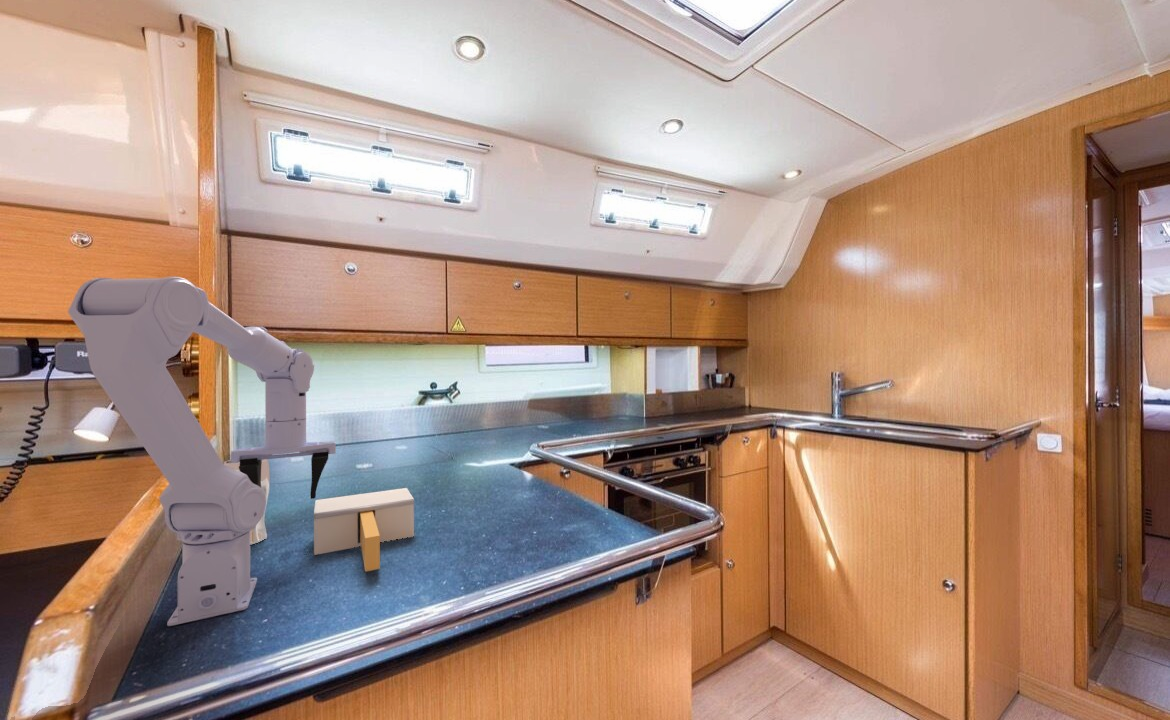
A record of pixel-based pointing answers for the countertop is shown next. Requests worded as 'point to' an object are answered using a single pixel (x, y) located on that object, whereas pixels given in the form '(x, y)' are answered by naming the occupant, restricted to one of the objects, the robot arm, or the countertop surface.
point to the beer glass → (260, 531)
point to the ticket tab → (369, 541)
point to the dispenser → (342, 518)
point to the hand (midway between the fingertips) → (286, 500)
